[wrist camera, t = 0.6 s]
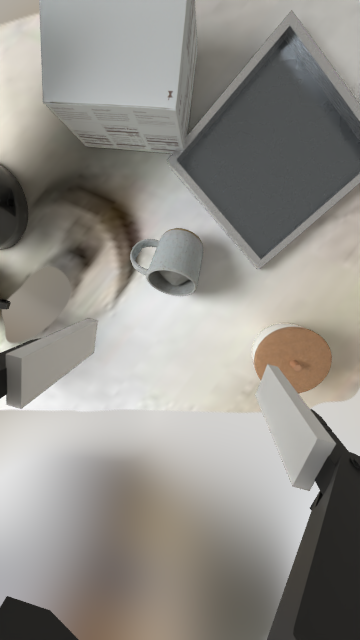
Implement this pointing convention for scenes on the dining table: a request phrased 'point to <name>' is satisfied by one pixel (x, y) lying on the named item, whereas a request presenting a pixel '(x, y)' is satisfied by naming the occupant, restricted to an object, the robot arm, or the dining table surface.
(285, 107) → the square tray
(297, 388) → the lidded jar
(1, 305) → the coffee press
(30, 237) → the dining table surface
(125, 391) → the dining table surface
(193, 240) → the ceramic mug
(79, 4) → the supplement box
